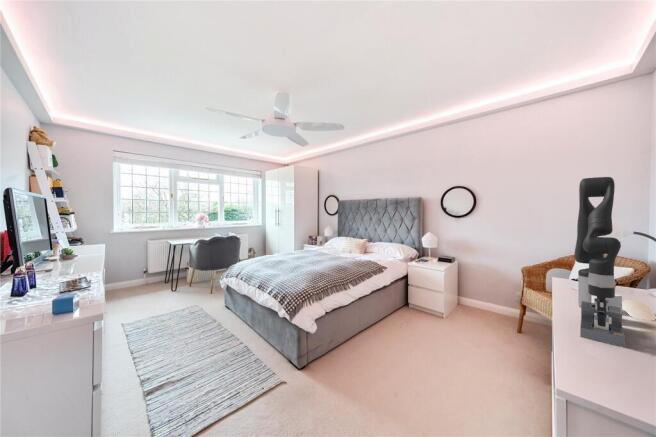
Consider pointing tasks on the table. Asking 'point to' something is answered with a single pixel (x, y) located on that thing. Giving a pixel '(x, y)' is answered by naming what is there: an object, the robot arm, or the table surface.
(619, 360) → the table surface
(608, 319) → the plug
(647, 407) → the table surface
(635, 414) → the table surface
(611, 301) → the supplement box
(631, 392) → the table surface
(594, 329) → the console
